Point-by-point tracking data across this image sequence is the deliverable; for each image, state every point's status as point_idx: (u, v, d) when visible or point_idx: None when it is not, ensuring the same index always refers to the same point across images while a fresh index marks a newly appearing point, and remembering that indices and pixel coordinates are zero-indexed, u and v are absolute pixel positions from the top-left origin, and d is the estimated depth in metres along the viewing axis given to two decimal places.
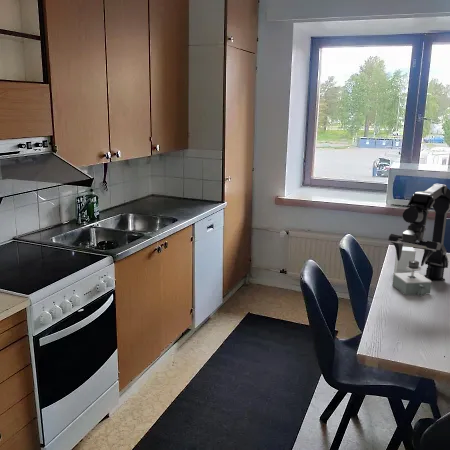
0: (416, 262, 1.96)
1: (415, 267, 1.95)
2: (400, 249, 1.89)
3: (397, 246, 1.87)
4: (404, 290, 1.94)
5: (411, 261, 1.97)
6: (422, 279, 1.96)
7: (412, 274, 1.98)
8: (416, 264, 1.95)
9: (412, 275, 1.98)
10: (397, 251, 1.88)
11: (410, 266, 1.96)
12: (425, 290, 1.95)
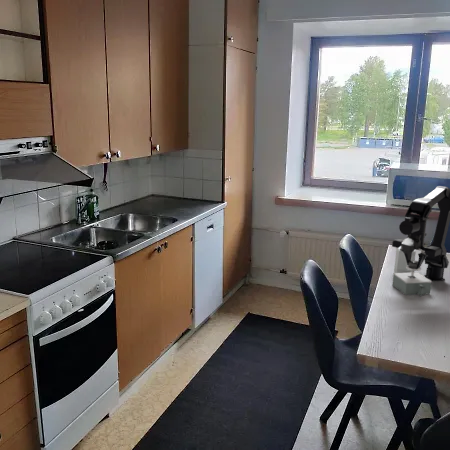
0: (416, 262, 1.96)
1: (415, 267, 1.95)
2: (409, 255, 1.98)
3: (405, 253, 1.97)
4: (404, 290, 1.94)
5: (411, 261, 1.97)
6: (422, 279, 1.96)
7: (412, 274, 1.98)
8: (416, 264, 1.95)
9: (412, 275, 1.98)
10: (406, 257, 1.98)
11: (410, 266, 1.96)
12: (425, 290, 1.95)
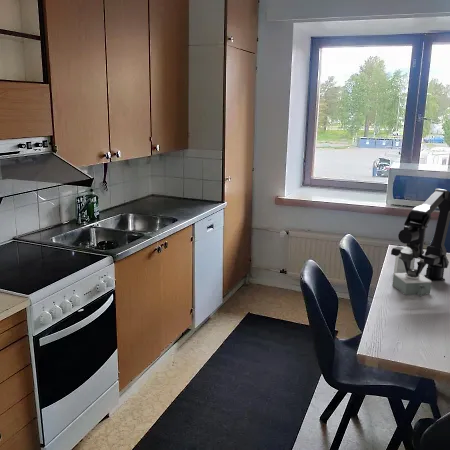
0: (415, 270, 1.97)
1: (414, 275, 1.96)
2: (408, 263, 1.99)
3: (405, 261, 1.98)
4: (404, 290, 1.94)
5: (410, 269, 1.98)
6: (422, 279, 1.96)
7: None
8: (415, 272, 1.96)
9: None
10: (405, 265, 1.99)
11: (409, 274, 1.97)
12: (425, 290, 1.95)
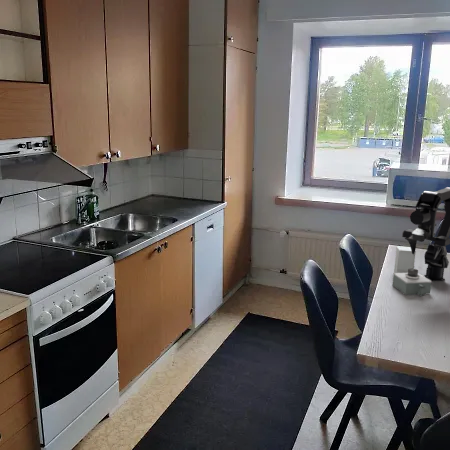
0: (415, 270, 1.97)
1: (414, 275, 1.96)
2: (414, 243, 2.04)
3: (410, 242, 2.03)
4: (404, 290, 1.94)
5: (410, 269, 1.98)
6: (422, 279, 1.96)
7: None
8: (415, 272, 1.96)
9: None
10: (411, 246, 2.04)
11: (409, 274, 1.97)
12: (425, 290, 1.95)
